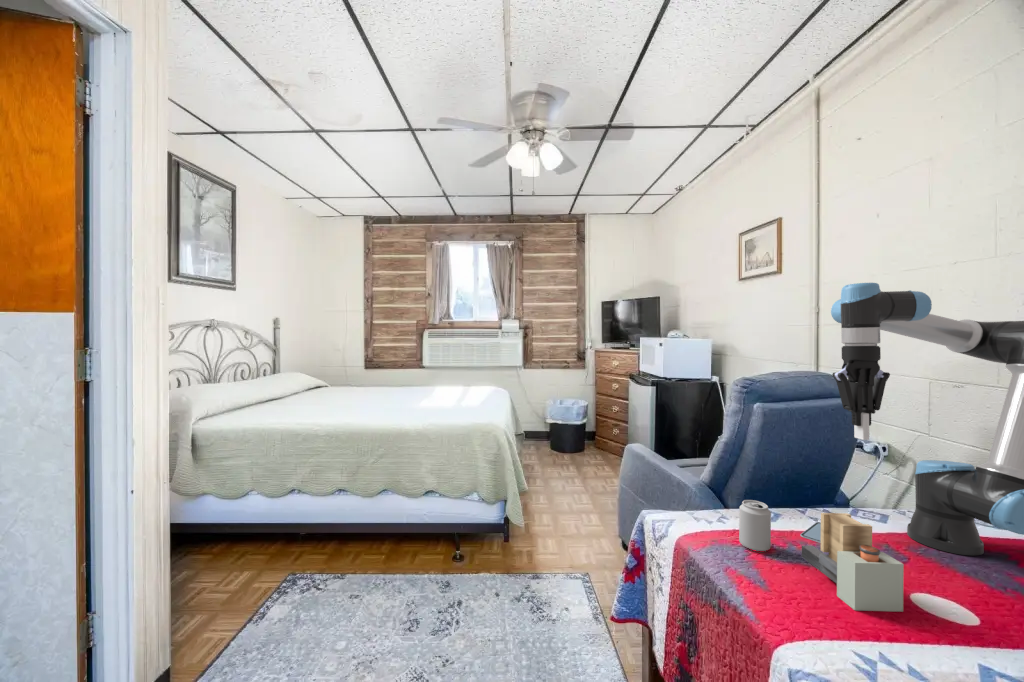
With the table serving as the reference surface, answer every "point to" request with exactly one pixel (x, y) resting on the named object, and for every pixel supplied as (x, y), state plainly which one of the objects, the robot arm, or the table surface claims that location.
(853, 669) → the table surface
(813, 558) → the rail
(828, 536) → the carriage
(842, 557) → the grey hollow block
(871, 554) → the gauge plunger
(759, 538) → the can
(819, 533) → the smartphone
